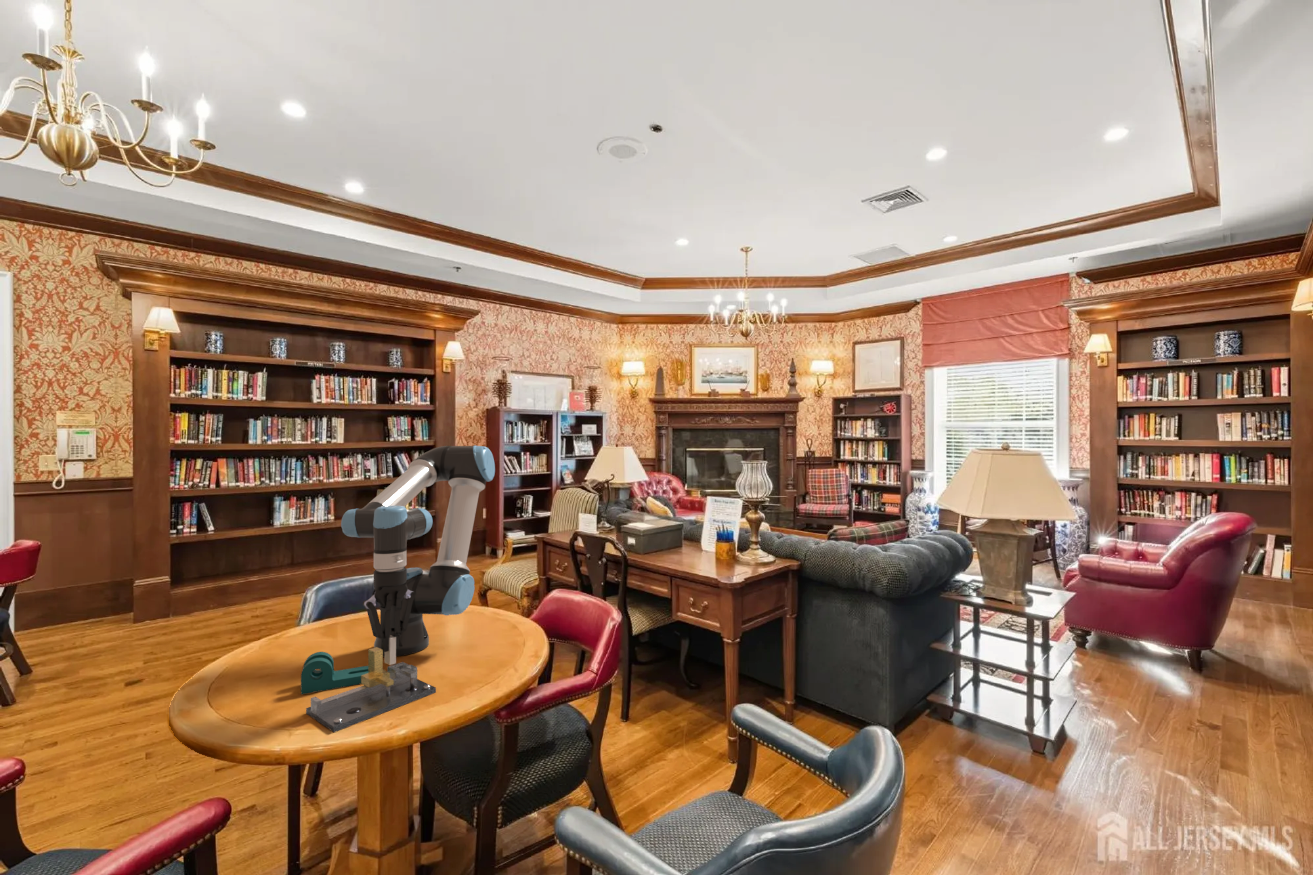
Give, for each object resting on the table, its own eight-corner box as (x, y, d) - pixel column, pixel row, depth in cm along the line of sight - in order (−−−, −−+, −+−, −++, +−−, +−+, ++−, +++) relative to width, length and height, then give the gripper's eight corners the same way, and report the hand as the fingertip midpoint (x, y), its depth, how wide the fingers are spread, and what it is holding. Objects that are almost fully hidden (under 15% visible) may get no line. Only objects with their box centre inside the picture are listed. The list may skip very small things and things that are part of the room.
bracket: (300, 695, 140) (300, 663, 140) (303, 684, 146) (303, 654, 146) (381, 681, 149) (381, 650, 149) (381, 671, 155) (381, 642, 155)
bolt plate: (306, 713, 131) (306, 705, 131) (405, 678, 150) (405, 671, 150) (333, 732, 122) (333, 723, 122) (435, 692, 141) (435, 685, 141)
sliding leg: (361, 690, 139) (361, 650, 139) (381, 683, 143) (381, 644, 143) (379, 701, 133) (379, 659, 133) (400, 693, 137) (400, 652, 137)
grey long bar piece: (309, 710, 129) (309, 692, 129) (409, 675, 148) (409, 659, 148) (327, 722, 124) (327, 703, 124) (429, 684, 143) (429, 667, 143)
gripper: (371, 575, 135) (371, 675, 135) (422, 565, 145) (422, 658, 145) (356, 571, 139) (356, 667, 139) (406, 562, 150) (406, 651, 150)
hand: (390, 662), depth 142 cm, fingers closed
